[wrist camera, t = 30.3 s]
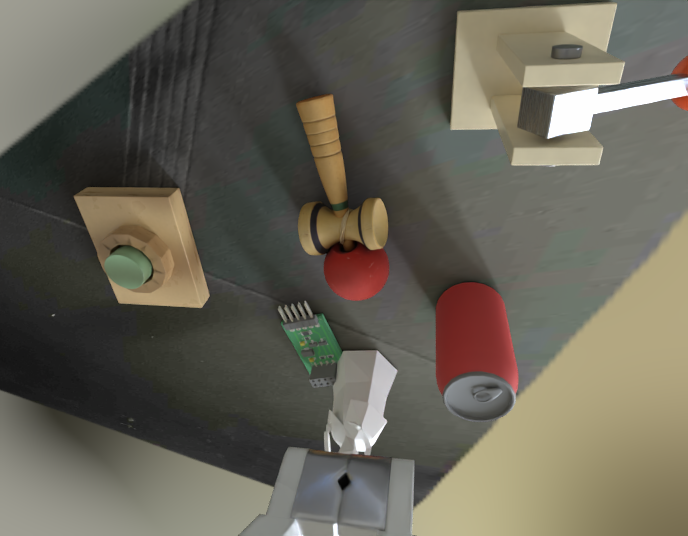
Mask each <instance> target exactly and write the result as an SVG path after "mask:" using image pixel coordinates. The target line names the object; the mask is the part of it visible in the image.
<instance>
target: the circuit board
mask: <svg viewBox="0 0 688 536" xmlns="http://www.w3.org/2000/svg"><path fill="white" fill-rule="evenodd" d="M304 302H305V303H304V306H305V308H306V310H307V312H308V314H309V315H310V316H307V315H306V313H305V312H304V310H303V308H302V306H301V304H300V302H298V305H297V306H298V308H299V310H300V312H301V314H302V316H303V317H300V315H299V314H298V312H297V310H296V308H295V306H294V304H291V305H292V306H291V309H292V310H293V312H294V314H295V316H296V318H294V317H293V315H292V314H291V312H290V310H289V308H288V306H287V305H285V308H284V309H285V311H286V312H287V314H288V316H289V318H290V319H287V317H286V315H285V314H284V312H283V310H282V308H281V306H279V308H278V311H279V313H280V314H281V316H282V318H283V321H282V322H281V325H282V327H283V328H284V330H285V332H286V334H287V335H288V337H289V339H290V341H291V342H292V344H293V346H294V347H295V349H296V351H297V353H298V354H299V356H300V358H301V360H302V361H303V363H304V365H305V367H306V368H307V370H308V372H309V374H310V377H309V381H310V383H311V385H312V386H313V388H315V387H323V386H331V385H334V383H335V382H336V374H337V363H338V361H339V359H340V357H341V355H342V351H341V349H340V347H339V345H338V343H337V341H336V339H335V337H334V335H333V333H332V331H331V329H330V327H329V325H328V323H327V321H326V319H325V317H324V315H323V313H321V314H315V315H313V313H312V311H311V309H310V307H309V306H308V304H307V302H306V301H304Z"/></svg>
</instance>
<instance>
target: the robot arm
mask: <svg viewBox="0 0 688 536" xmlns="http://www.w3.org/2000/svg"><path fill="white" fill-rule="evenodd" d="M413 492H414V460H408V459H397V458H392V457H382V456H371V455H360V454H346V453H337V452H329V451H320V450H311V449H306V448H296V447H288V449H287V451H286V453H285V455H284V458H283V461H282V464H281V467H280V471H279V474H278V477H277V480H276V483H275V487H274V490H273V494H272V496H271V500H270V503H269V506H268V510H267V512H266V515H263V514H259V515H258V516H257V517H256V518H255V519H254V520H253V521H252V522H251V523H250V524H249V525H248V526H247V527H246V528H245V529H244V530H243V531H242V532H241V533H240V534H239V535H238V536H415V535H412V520H413V519H412V518H413Z"/></svg>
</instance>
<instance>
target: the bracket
mask: <svg viewBox="0 0 688 536" xmlns="http://www.w3.org/2000/svg"><path fill="white" fill-rule="evenodd" d="M616 7H617V3H615V2H598V3H581V4H564V5H547V6H530V7H513V8H496V9H480V10H463V11H457V21H456V37H455V53H454V69H453V85H452V101H451V117H450V129H451V130H461V129H498V131H499V134H500V136H501V139H502V142H503V144H504V147H505V150H506V152H507V155H508V158H509V160H510V163H511V165H539V166H545V167H551V166H556V165H599V163H600V159H601V155H602V151H603V146H602V145H601V144H600V143H599V142H598V141H597V140H596V138H595V137H594V136H593V135H592V134H591V133H590V132H589V131H588V130H586V131H582V132H577V133H572V134H567V135H562V136H558V137H553V138H548V139H546V138H544V137H541V136H538V135H536V134H533V133H530V132H528V131H525V130H522V129H520V128H517V123H518V116H519V109H520V102H521V95H522V88H523V87H543V86H577V85H592V86H597V87H598V85H610V84H619V83H620V80H621V76H622V72H623V68H624V64H625V62H624V61H622V60H620V59H618V58H616V57H614V56H612V55H610V54H608V53H607V52H606V50H607V46H608V42H609V37H610V33H611V29H612V24H613V20H614V16H615V11H616Z"/></svg>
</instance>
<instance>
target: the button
mask: <svg viewBox="0 0 688 536" xmlns="http://www.w3.org/2000/svg"><path fill="white" fill-rule="evenodd" d="M104 267H105V271H106V273H107V275H108V276H109V278H110V279H111V280H112V281H113V282H115V283H116V284H117V285H119V286H121V287H124V288H127V289H136V288H138V287H140V286H141V285H142V284H143V283H144V282H145V281H146V280H147V279H148V278H149V277H150V276H151V274H152V271H153V266H152V263H151V261H150V259H149V258H148V257H147V256H146V255H145V254H144V253H143V252H142V251H141V250H139V249H137V248H135V247H132V246H121V247H119V248H118V249H116V250H115V251H114V252H113V253H112V254H111V255H110V256H109V257H107V259H106V260H105V263H104Z"/></svg>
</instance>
